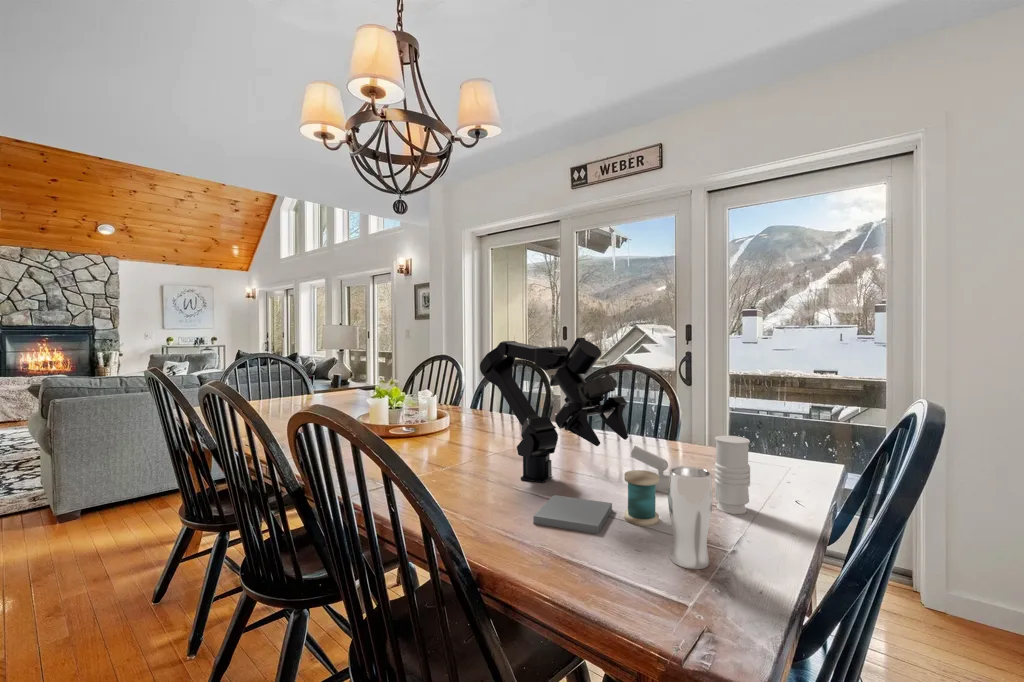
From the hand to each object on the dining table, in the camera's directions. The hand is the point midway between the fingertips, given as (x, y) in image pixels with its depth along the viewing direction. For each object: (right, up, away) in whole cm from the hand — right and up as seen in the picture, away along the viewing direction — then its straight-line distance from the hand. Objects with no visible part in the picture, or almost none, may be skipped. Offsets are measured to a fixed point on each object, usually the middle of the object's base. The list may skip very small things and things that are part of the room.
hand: (613, 441), depth 106 cm
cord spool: (+4, -14, -6) cm, 16 cm away
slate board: (-9, -14, -5) cm, 18 cm away
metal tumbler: (+8, -15, -24) cm, 29 cm away
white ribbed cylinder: (+25, -14, -1) cm, 29 cm away
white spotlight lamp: (+12, -14, +15) cm, 24 cm away
